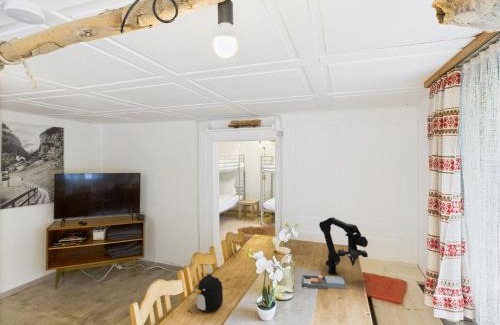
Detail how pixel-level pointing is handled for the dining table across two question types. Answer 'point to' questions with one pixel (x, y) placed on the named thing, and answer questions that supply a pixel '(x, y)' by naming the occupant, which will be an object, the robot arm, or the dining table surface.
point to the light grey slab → (335, 282)
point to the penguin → (209, 293)
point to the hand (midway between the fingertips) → (352, 265)
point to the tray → (318, 286)
